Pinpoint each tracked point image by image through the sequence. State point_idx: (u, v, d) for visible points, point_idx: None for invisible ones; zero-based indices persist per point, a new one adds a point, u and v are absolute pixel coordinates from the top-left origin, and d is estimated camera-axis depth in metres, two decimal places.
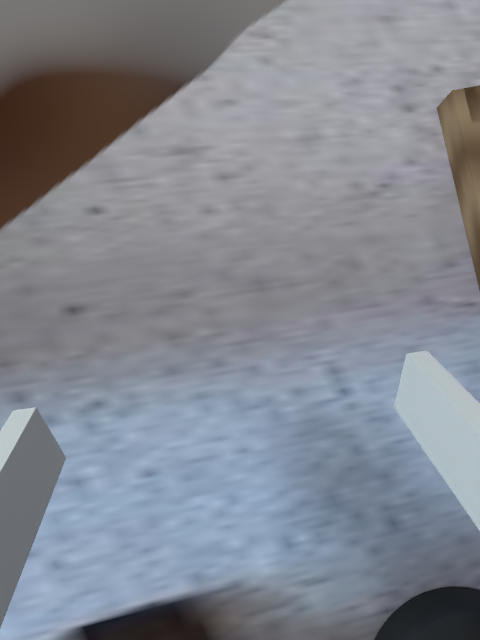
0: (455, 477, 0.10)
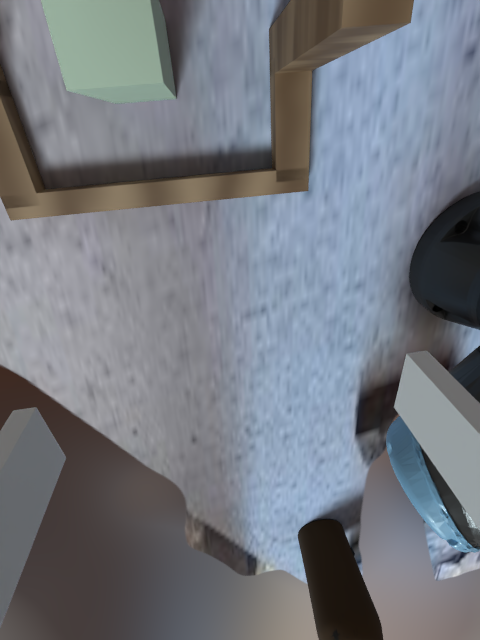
0: (454, 477, 0.10)
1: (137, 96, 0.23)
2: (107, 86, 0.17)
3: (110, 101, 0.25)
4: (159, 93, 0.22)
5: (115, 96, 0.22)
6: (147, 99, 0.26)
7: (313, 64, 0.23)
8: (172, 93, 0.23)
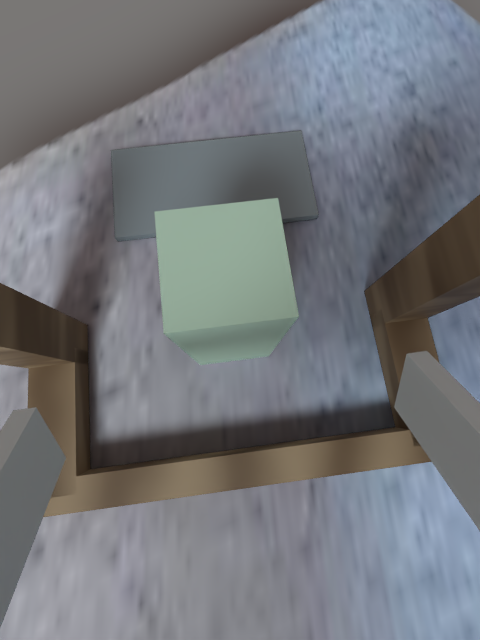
0: (455, 477, 0.10)
1: (235, 350, 0.19)
2: (220, 325, 0.12)
3: (197, 360, 0.21)
4: (264, 344, 0.18)
5: (211, 349, 0.17)
6: (239, 357, 0.22)
7: (444, 306, 0.19)
8: (276, 345, 0.19)
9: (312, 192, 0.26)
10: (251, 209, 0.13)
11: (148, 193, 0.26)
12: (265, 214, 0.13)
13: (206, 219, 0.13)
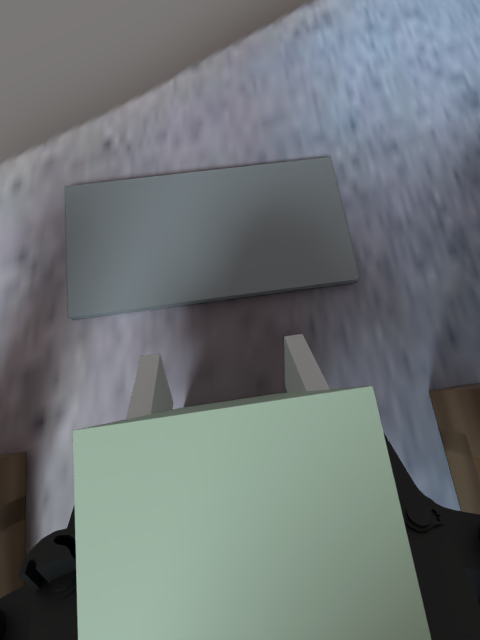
0: None
1: None
2: None
3: None
4: None
5: None
6: None
7: None
8: None
9: (349, 245, 0.19)
10: (311, 419, 0.05)
11: (116, 249, 0.18)
12: (346, 433, 0.05)
13: (201, 451, 0.05)
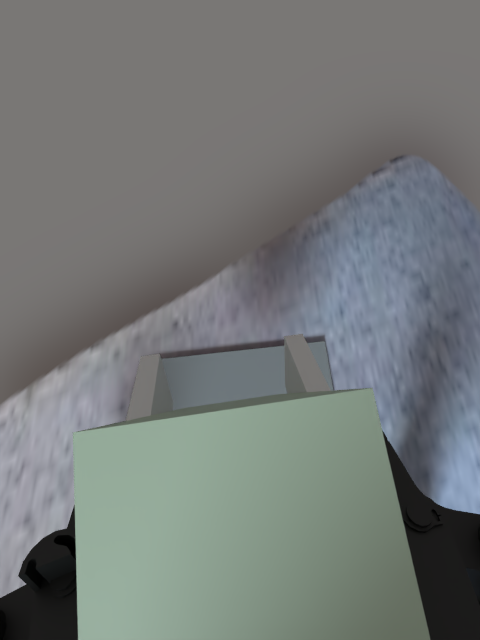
0: None
1: None
2: None
3: None
4: None
5: None
6: None
7: None
8: None
9: None
10: (311, 421, 0.05)
11: (184, 407, 0.28)
12: (345, 435, 0.05)
13: (202, 452, 0.05)
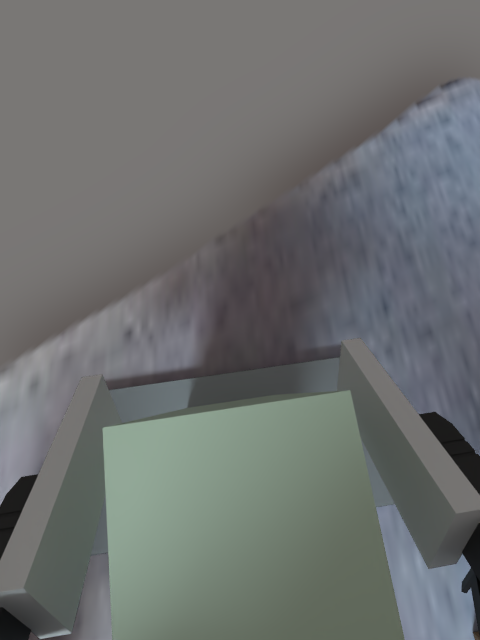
0: (375, 450, 0.11)
1: None
2: None
3: None
4: None
5: None
6: None
7: None
8: None
9: None
10: (299, 417, 0.07)
11: None
12: (327, 429, 0.06)
13: (208, 444, 0.06)
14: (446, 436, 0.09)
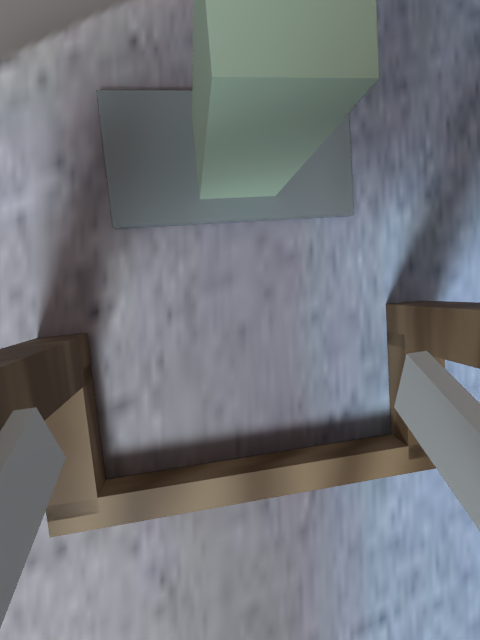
0: (455, 477, 0.10)
1: (255, 167, 0.16)
2: (284, 77, 0.09)
3: (204, 184, 0.18)
4: (292, 158, 0.15)
5: (233, 156, 0.15)
6: (247, 188, 0.19)
7: None
8: (300, 167, 0.17)
9: (350, 183, 0.22)
10: None
11: (152, 166, 0.20)
12: None
13: None
14: None
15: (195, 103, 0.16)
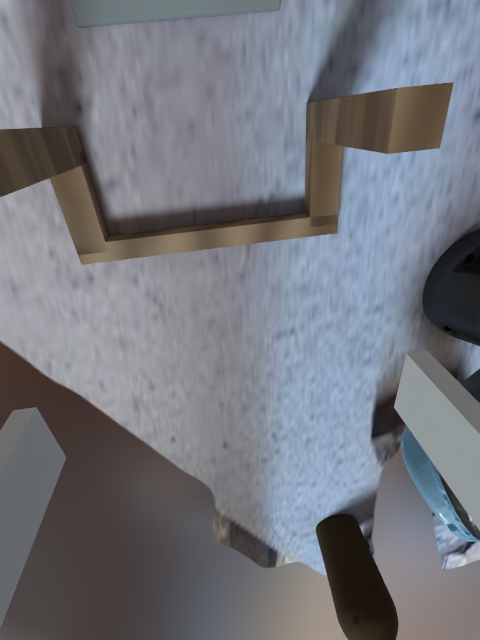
0: (455, 477, 0.10)
1: None
2: None
3: None
4: None
5: None
6: None
7: None
8: None
9: None
10: None
11: None
12: None
13: None
14: None
15: None
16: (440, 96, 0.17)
